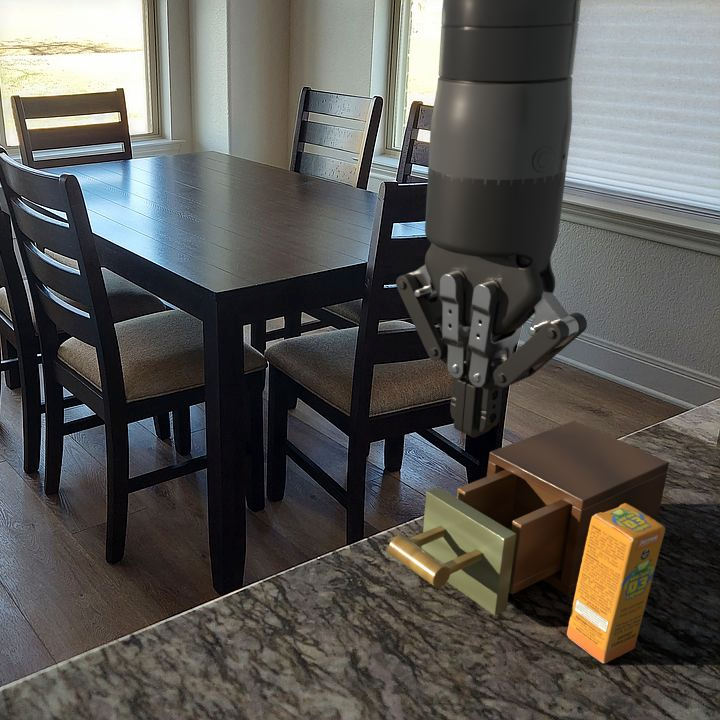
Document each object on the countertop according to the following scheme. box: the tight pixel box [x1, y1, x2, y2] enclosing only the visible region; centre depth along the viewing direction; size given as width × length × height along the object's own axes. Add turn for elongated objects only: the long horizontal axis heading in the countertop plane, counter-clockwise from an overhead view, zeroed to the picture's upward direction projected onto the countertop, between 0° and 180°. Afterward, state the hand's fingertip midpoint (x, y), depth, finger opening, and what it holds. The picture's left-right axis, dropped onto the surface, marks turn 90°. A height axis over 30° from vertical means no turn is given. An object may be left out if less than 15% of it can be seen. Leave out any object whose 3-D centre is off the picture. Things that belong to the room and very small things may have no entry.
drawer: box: [387, 470, 573, 617], centre depth 62 cm, size 14×7×6 cm, turn 122°
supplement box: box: [566, 503, 666, 664], centre depth 56 cm, size 3×3×10 cm
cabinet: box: [486, 420, 670, 596], centre depth 67 cm, size 10×9×8 cm
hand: (472, 429), depth 55 cm, fingers closed
